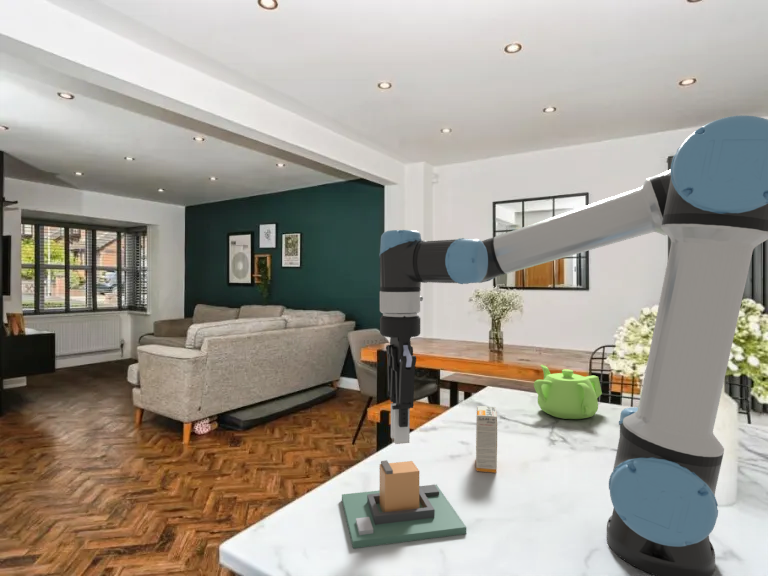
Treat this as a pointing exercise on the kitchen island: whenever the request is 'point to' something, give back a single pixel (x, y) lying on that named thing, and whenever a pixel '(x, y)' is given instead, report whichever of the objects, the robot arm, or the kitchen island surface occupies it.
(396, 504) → the plug
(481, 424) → the supplement box
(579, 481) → the kitchen island surface
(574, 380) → the teapot
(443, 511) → the header board
